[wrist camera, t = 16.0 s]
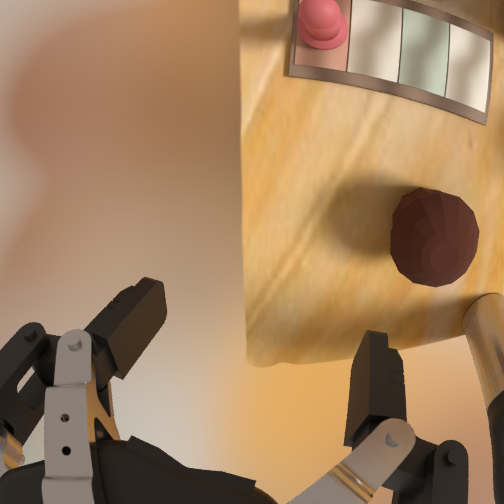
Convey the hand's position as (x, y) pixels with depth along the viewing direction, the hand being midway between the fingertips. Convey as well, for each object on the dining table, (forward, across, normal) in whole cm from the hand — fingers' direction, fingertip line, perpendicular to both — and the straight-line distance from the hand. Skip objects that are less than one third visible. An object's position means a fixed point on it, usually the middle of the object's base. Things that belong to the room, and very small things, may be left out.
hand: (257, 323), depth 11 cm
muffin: (+29, -15, +4) cm, 33 cm away
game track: (+28, -8, -17) cm, 34 cm away
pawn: (+27, +1, -17) cm, 32 cm away
